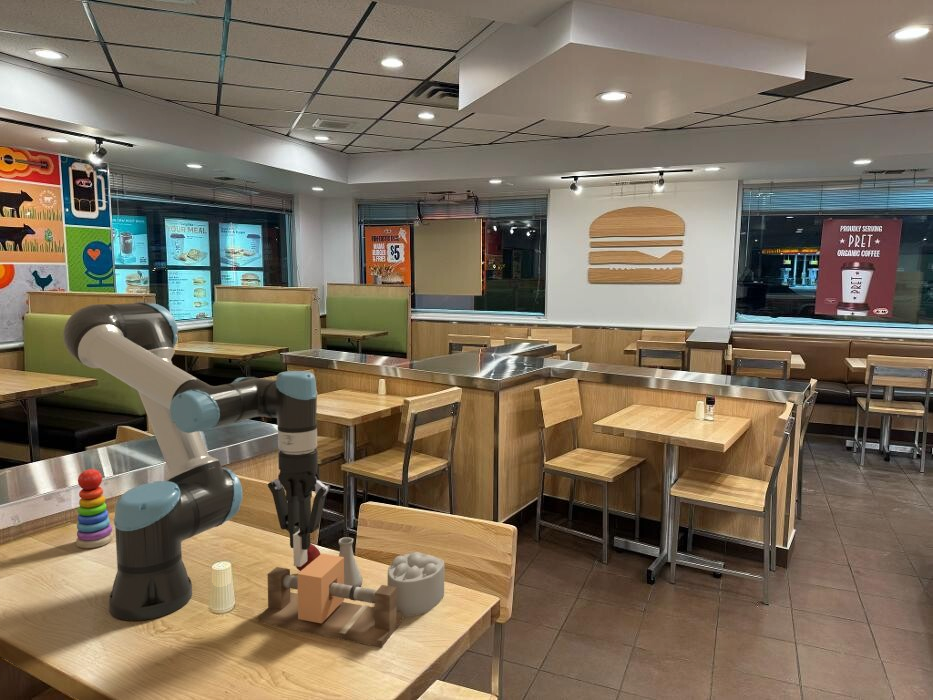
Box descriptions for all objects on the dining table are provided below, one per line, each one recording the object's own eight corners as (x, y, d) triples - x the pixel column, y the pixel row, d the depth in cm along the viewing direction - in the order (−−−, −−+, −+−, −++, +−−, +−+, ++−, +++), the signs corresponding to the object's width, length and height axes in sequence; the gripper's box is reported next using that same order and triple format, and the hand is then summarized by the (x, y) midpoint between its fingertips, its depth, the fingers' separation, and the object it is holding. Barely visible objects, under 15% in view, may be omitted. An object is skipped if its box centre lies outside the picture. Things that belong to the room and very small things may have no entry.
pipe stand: (257, 622, 120) (257, 582, 119) (286, 597, 129) (286, 559, 128) (382, 647, 112) (382, 604, 111) (403, 618, 122) (403, 579, 121)
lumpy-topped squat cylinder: (450, 592, 133) (450, 553, 132) (419, 622, 121) (420, 580, 120) (408, 581, 137) (408, 543, 136) (374, 609, 125) (375, 568, 124)
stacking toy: (81, 537, 156) (77, 465, 154) (117, 534, 158) (113, 463, 156) (71, 551, 148) (67, 475, 146) (109, 547, 151) (105, 472, 148)
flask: (355, 594, 131) (355, 549, 130) (323, 590, 132) (323, 545, 131) (367, 578, 138) (367, 535, 137) (337, 574, 139) (337, 531, 138)
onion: (323, 568, 142) (323, 535, 141) (318, 581, 136) (317, 546, 135) (297, 568, 142) (297, 535, 141) (291, 581, 136) (291, 546, 135)
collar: (298, 618, 118) (297, 573, 116) (322, 595, 126) (321, 553, 125) (321, 623, 116) (321, 577, 115) (344, 599, 125) (344, 557, 124)
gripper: (258, 451, 121) (261, 567, 124) (317, 457, 117) (320, 576, 120) (280, 442, 128) (282, 551, 131) (336, 447, 125) (338, 559, 127)
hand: (300, 563), depth 125 cm, fingers closed
